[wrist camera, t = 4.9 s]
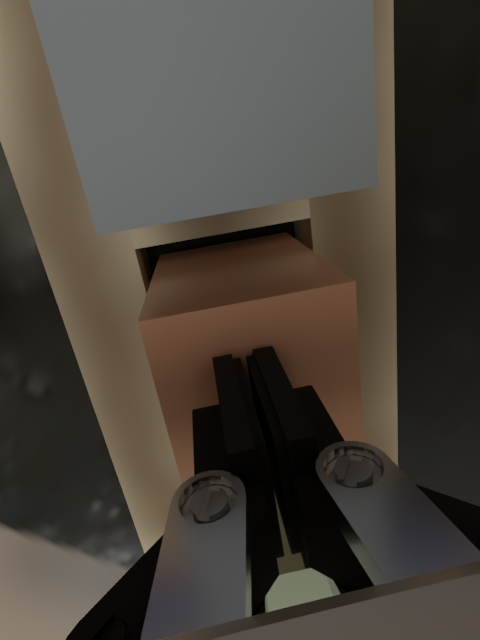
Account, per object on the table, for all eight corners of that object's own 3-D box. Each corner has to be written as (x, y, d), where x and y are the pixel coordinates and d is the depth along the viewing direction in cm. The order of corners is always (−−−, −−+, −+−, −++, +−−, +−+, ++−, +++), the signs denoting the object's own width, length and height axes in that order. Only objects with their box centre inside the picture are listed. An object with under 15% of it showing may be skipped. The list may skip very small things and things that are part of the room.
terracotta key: (285, 232, 18) (355, 281, 10) (298, 345, 20) (363, 454, 12) (159, 254, 17) (137, 322, 10) (186, 367, 19) (184, 492, 12)
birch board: (355, -60, 15) (392, -109, 13) (375, 469, 25) (398, 507, 22) (-17, -6, 15) (-65, -46, 12) (152, 516, 24) (147, 562, 22)
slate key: (268, -2, 13) (367, -210, 6) (287, 175, 15) (378, 186, 8) (100, 24, 13) (-18, -162, 6) (142, 200, 15) (96, 235, 8)
